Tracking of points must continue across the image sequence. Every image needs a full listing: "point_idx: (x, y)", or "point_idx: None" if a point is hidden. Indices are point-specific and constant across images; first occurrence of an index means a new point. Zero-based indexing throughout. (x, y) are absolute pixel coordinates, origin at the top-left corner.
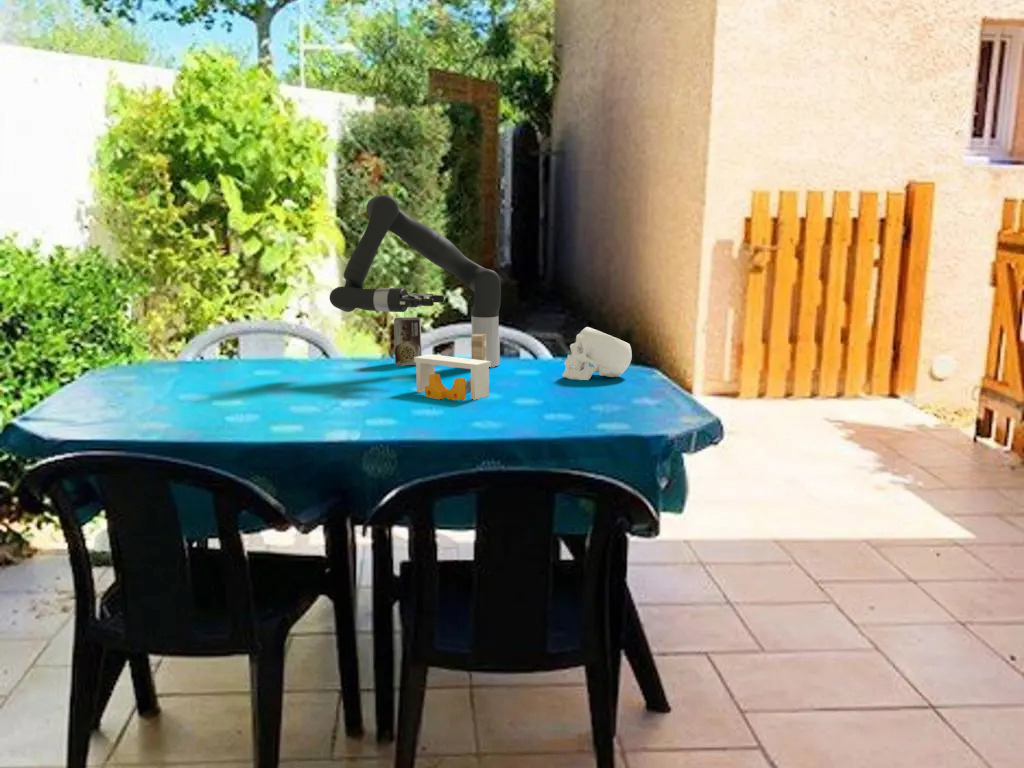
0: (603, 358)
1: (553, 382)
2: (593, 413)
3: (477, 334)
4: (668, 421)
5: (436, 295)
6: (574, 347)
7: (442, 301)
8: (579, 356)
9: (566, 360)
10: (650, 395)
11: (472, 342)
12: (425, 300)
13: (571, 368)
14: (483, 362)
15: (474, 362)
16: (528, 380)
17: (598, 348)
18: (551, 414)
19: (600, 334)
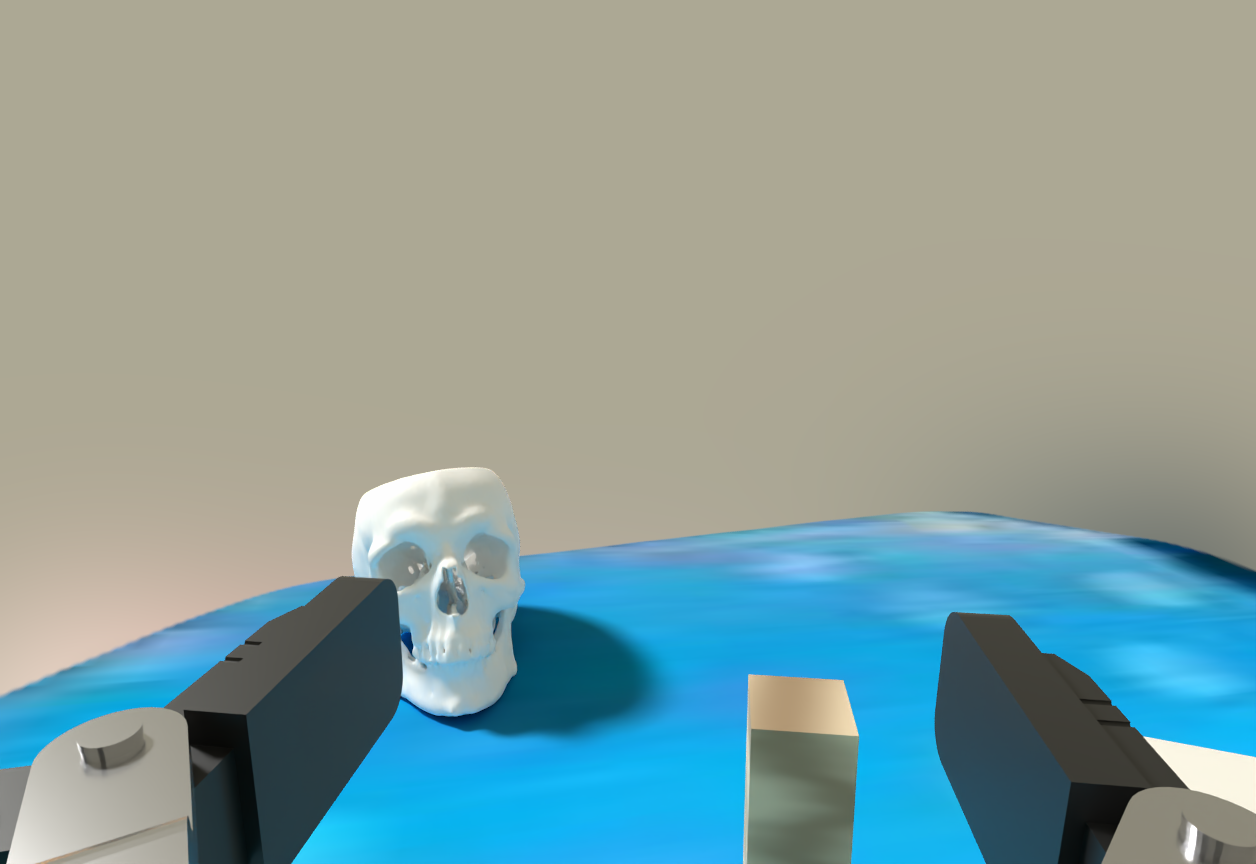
0: (518, 557)
1: (567, 740)
2: (1039, 620)
3: (791, 711)
4: (993, 541)
5: (316, 642)
6: (462, 570)
7: (393, 692)
8: (511, 588)
9: (464, 640)
10: (720, 565)
11: (852, 788)
12: (1131, 730)
13: (484, 658)
14: (1157, 746)
15: (1213, 784)
16: (525, 829)
17: (514, 528)
18: (1161, 684)
19: (497, 477)
